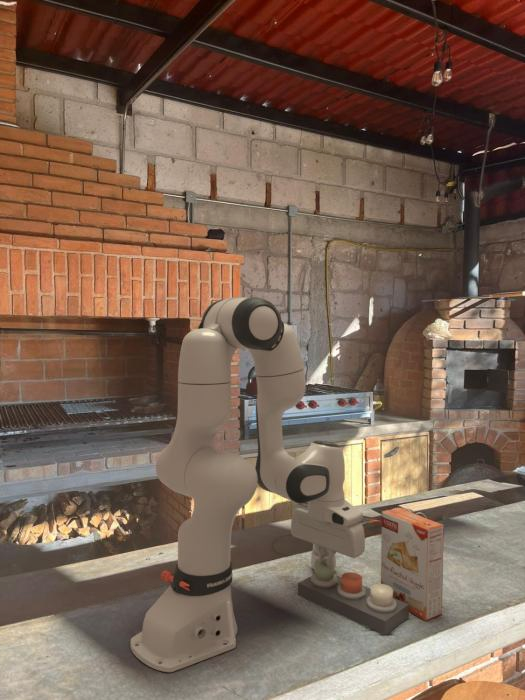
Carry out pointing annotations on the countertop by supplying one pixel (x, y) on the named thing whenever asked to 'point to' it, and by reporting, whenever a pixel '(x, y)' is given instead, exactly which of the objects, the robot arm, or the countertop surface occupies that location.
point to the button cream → (381, 594)
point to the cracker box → (413, 561)
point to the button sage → (323, 571)
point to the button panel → (354, 604)
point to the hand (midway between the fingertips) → (325, 563)
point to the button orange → (351, 582)
